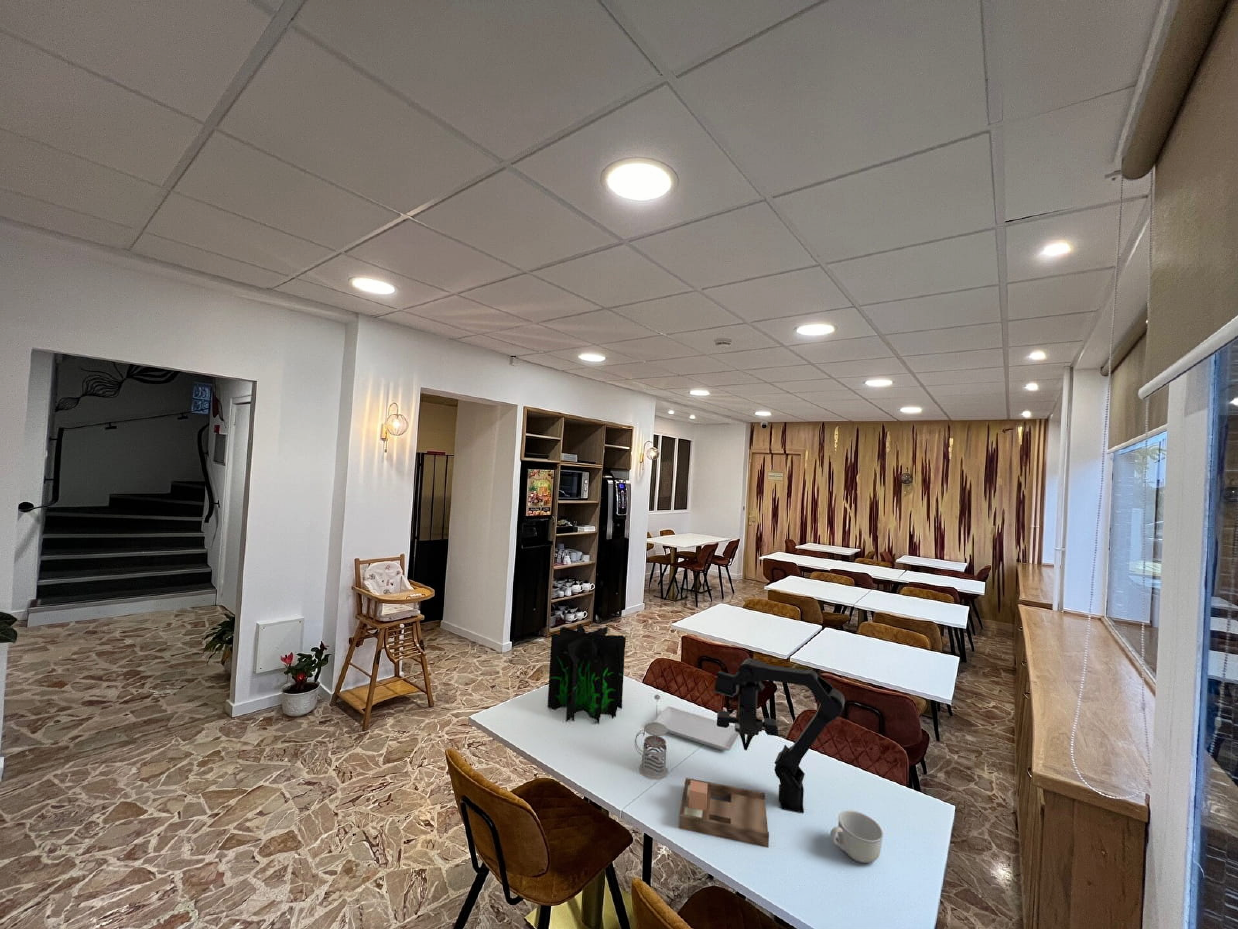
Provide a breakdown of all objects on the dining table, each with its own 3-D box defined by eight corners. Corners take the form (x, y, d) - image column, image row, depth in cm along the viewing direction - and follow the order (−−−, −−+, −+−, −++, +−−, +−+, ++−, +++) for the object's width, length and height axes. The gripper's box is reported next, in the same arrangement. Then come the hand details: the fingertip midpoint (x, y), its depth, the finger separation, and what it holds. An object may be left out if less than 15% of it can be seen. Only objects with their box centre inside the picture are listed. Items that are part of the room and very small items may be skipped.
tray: (730, 758, 174) (730, 748, 174) (649, 731, 190) (650, 722, 190) (743, 737, 189) (743, 728, 189) (667, 714, 205) (667, 705, 205)
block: (706, 800, 148) (707, 783, 148) (705, 811, 143) (706, 793, 143) (690, 796, 149) (690, 780, 149) (688, 807, 144) (689, 790, 144)
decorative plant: (579, 732, 186) (583, 652, 186) (535, 702, 208) (539, 631, 208) (633, 710, 205) (637, 638, 206) (588, 685, 227) (592, 620, 228)
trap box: (764, 804, 150) (765, 793, 150) (768, 847, 133) (769, 834, 133) (685, 789, 156) (685, 777, 156) (678, 828, 138) (679, 815, 138)
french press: (666, 782, 159) (670, 703, 159) (631, 775, 161) (635, 698, 161) (669, 764, 168) (673, 690, 169) (636, 759, 171) (639, 686, 171)
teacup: (867, 839, 138) (869, 810, 138) (890, 871, 127) (892, 839, 127) (818, 838, 137) (819, 809, 137) (837, 869, 126) (838, 838, 126)
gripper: (717, 707, 153) (714, 758, 152) (780, 717, 148) (778, 769, 148) (718, 692, 163) (716, 739, 163) (777, 701, 159) (775, 749, 159)
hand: (745, 749), depth 158 cm, fingers closed
